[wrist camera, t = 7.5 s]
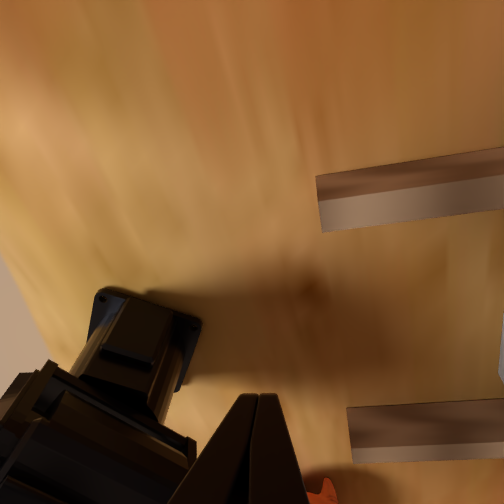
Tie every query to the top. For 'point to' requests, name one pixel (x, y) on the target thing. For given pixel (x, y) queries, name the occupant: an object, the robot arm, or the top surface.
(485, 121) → the top surface
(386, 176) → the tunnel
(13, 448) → the robot arm
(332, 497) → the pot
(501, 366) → the tall block
